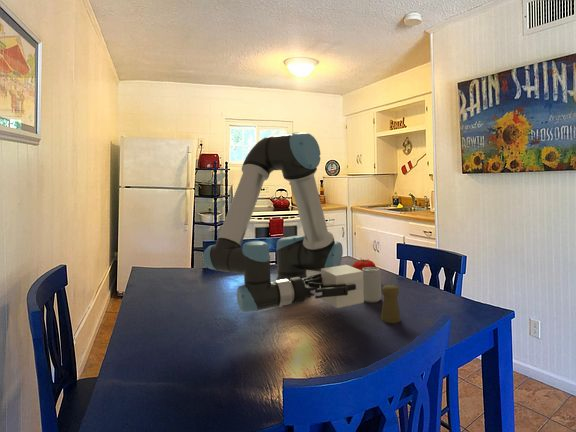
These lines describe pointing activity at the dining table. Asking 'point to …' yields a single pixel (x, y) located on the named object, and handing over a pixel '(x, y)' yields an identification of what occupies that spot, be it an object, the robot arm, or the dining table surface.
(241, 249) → the robot arm
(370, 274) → the can
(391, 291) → the cork
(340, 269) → the cream rounded cube
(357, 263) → the tomato
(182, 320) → the dining table surface
